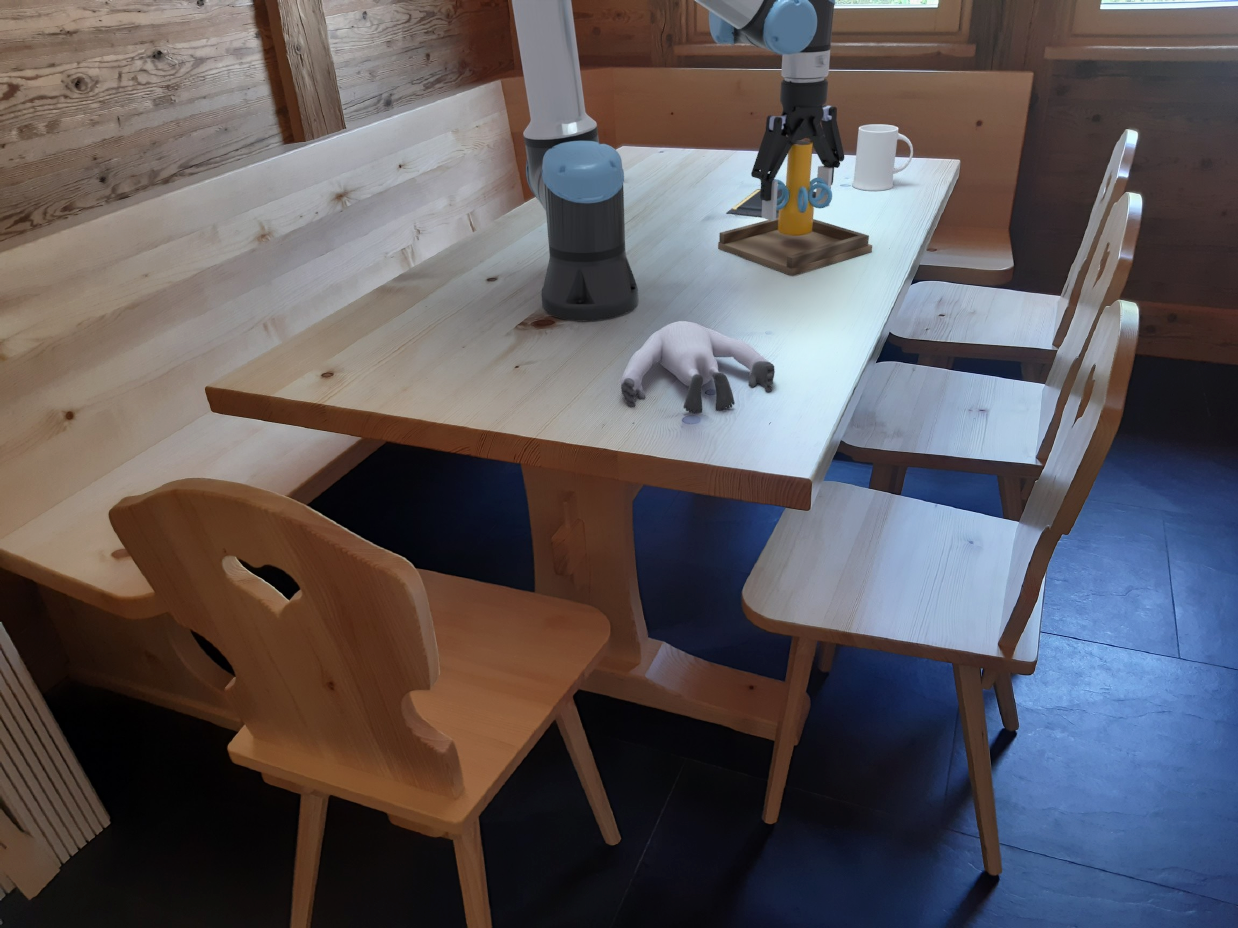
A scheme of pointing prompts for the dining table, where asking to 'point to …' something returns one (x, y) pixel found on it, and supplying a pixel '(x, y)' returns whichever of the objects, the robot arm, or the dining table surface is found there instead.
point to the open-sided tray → (794, 246)
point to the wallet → (754, 205)
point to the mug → (877, 157)
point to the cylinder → (799, 192)
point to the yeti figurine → (694, 363)
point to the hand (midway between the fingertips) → (795, 212)
